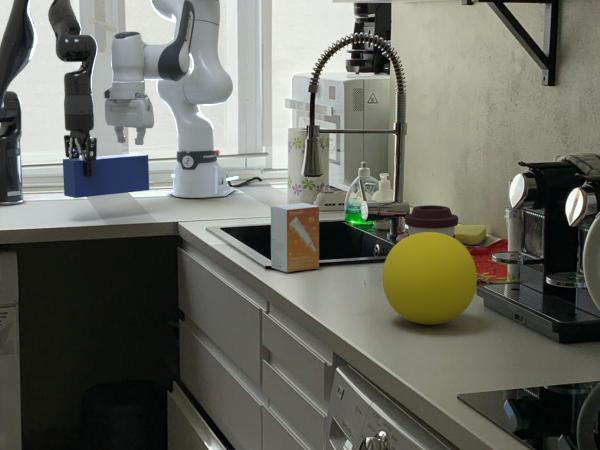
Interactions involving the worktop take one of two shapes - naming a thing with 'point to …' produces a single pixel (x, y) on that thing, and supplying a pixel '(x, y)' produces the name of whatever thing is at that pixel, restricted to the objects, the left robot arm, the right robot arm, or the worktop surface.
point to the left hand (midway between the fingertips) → (81, 175)
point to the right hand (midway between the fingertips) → (130, 143)
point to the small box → (295, 237)
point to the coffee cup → (431, 220)
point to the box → (106, 175)
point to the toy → (429, 278)
